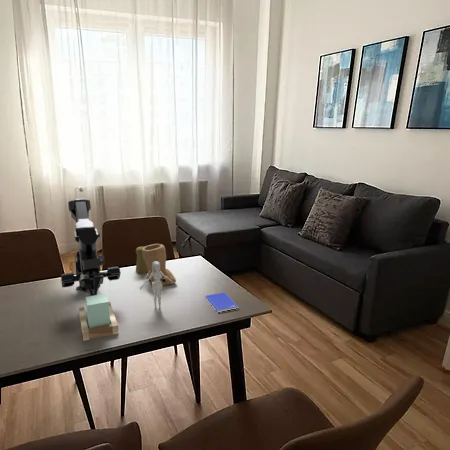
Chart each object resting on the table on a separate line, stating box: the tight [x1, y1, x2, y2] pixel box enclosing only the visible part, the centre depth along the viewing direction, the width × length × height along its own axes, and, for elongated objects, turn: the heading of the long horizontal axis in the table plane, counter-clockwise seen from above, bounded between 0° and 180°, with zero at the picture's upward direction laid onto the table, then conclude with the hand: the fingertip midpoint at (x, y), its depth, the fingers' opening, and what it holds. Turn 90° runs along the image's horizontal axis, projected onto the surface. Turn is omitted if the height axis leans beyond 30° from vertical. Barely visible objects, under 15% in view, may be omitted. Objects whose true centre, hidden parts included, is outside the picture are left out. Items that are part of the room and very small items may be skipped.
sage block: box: [85, 293, 110, 328], centre depth 112 cm, size 6×6×10 cm
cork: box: [135, 246, 149, 274], centre depth 161 cm, size 6×6×11 cm
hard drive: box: [205, 292, 240, 314], centre depth 134 cm, size 2×8×12 cm
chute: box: [78, 300, 120, 342], centre depth 117 cm, size 17×10×4 cm, turn 25°
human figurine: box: [139, 261, 173, 313], centre depth 126 cm, size 12×4×18 cm, turn 122°
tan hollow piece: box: [142, 243, 177, 286], centre depth 152 cm, size 15×12×15 cm
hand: (94, 300), depth 121 cm, fingers closed
